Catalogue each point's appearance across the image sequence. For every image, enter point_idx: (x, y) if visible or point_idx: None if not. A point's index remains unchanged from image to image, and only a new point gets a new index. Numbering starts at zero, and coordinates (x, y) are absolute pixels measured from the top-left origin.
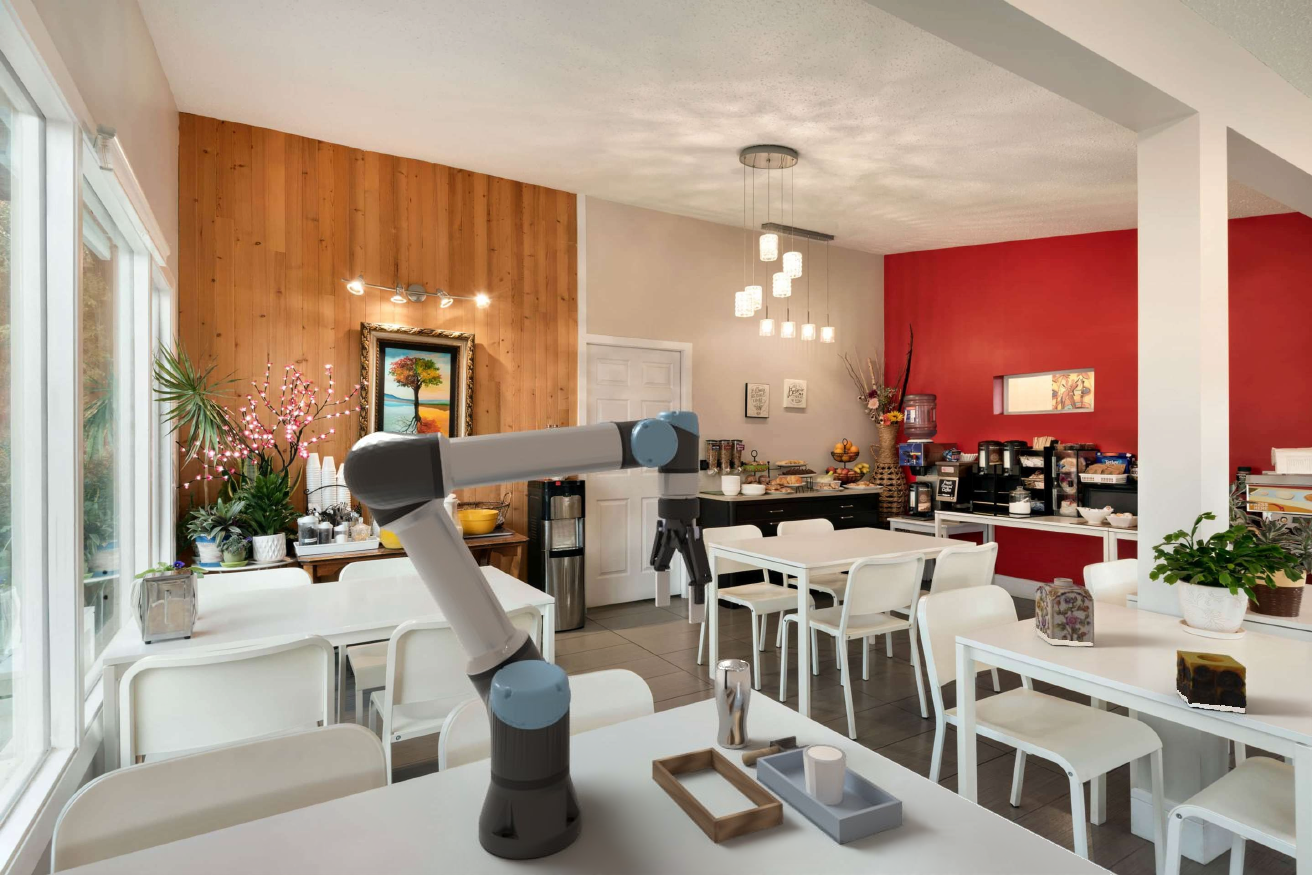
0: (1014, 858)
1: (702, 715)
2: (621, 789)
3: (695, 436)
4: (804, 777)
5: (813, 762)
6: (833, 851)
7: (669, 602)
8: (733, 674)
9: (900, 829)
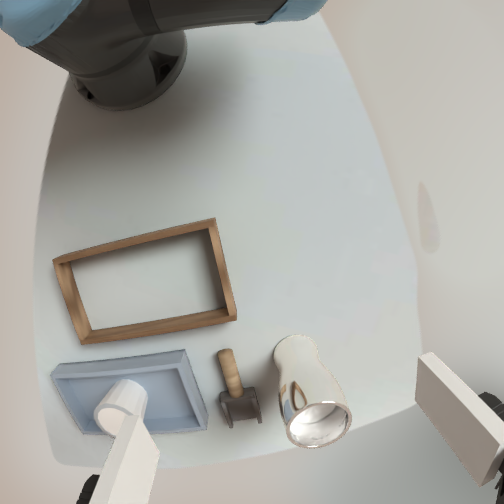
0: (56, 447)
1: (390, 334)
2: (192, 168)
3: None
4: (171, 395)
5: (100, 403)
6: (50, 353)
7: (419, 404)
8: (286, 417)
9: None
